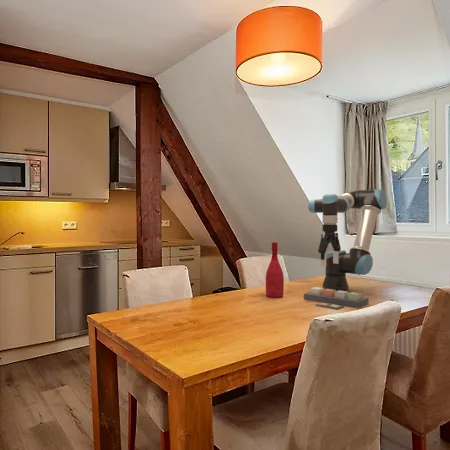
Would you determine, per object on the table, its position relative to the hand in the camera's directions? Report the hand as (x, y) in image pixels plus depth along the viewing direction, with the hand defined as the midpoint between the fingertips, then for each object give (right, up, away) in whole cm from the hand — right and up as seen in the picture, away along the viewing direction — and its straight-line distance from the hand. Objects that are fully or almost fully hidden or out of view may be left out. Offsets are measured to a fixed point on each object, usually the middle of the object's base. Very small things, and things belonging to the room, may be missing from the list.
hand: (329, 264), depth 205 cm
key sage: (+10, -17, -9) cm, 21 cm away
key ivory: (-5, -16, +5) cm, 18 cm away
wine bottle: (-27, -19, +12) cm, 35 cm away
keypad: (+2, -19, -2) cm, 19 cm away
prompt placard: (-4, -19, -13) cm, 23 cm away
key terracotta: (0, -16, +1) cm, 16 cm away
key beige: (+5, -17, -4) cm, 18 cm away
